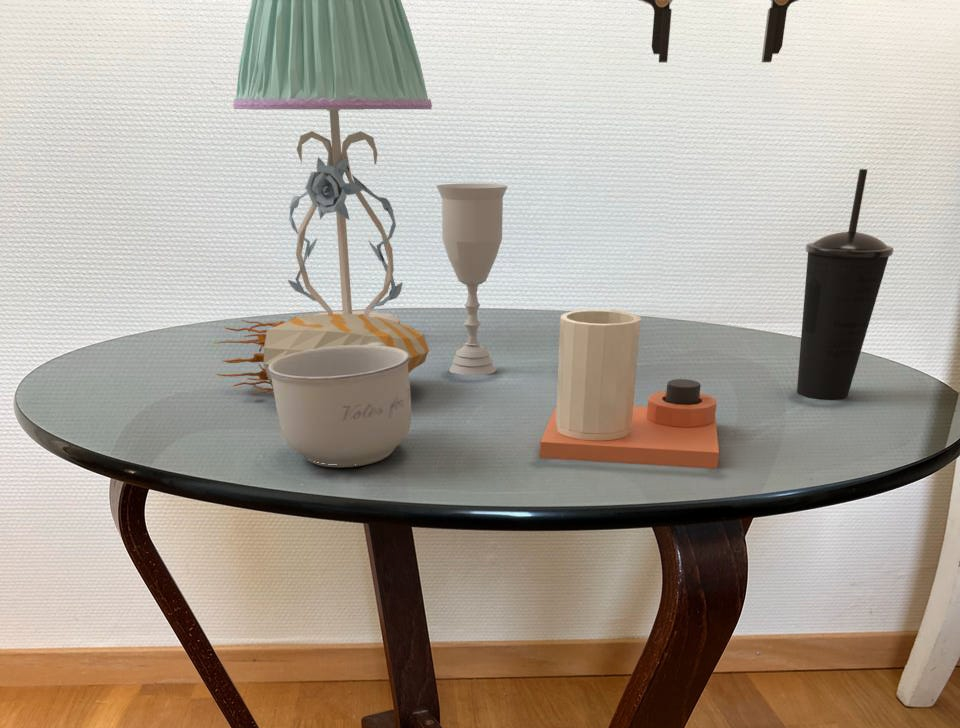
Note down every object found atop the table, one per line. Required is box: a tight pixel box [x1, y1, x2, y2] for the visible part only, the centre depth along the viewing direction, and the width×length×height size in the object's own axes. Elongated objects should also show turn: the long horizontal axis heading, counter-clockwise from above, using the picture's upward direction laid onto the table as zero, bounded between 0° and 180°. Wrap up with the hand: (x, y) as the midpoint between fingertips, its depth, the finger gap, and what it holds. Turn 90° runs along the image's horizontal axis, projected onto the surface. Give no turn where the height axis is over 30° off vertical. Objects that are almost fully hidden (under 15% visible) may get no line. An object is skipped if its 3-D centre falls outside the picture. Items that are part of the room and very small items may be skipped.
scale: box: [539, 391, 720, 469], centre depth 79 cm, size 14×12×3 cm
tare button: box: [665, 378, 702, 405], centre depth 80 cm, size 3×3×2 cm
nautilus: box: [213, 313, 430, 396], centre depth 91 cm, size 8×22×15 cm
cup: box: [555, 309, 642, 441], centre depth 76 cm, size 6×6×9 cm
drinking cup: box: [796, 168, 894, 401], centre depth 88 cm, size 8×8×20 cm
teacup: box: [268, 342, 412, 468], centre depth 75 cm, size 14×11×8 cm
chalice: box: [436, 182, 509, 376], centre depth 97 cm, size 7×7×18 cm
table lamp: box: [232, 0, 433, 323], centre depth 106 cm, size 22×22×40 cm
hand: (714, 62), depth 79 cm, fingers open, 8 cm apart
